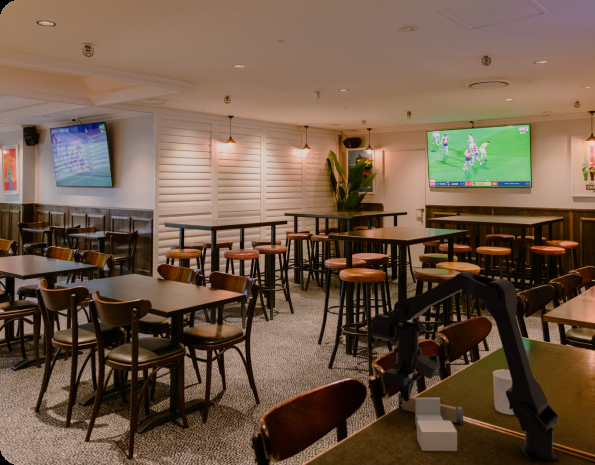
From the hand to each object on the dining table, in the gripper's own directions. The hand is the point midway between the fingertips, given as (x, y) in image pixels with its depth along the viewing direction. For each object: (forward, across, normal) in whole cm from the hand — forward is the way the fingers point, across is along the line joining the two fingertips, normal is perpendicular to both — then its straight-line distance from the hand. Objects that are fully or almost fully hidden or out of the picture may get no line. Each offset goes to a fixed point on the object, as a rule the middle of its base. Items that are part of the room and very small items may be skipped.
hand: (406, 401), depth 138 cm
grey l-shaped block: (+3, -7, -10) cm, 12 cm away
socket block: (+3, -13, -14) cm, 19 cm away
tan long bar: (+3, +1, -6) cm, 7 cm away
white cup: (+3, +17, -22) cm, 28 cm away
